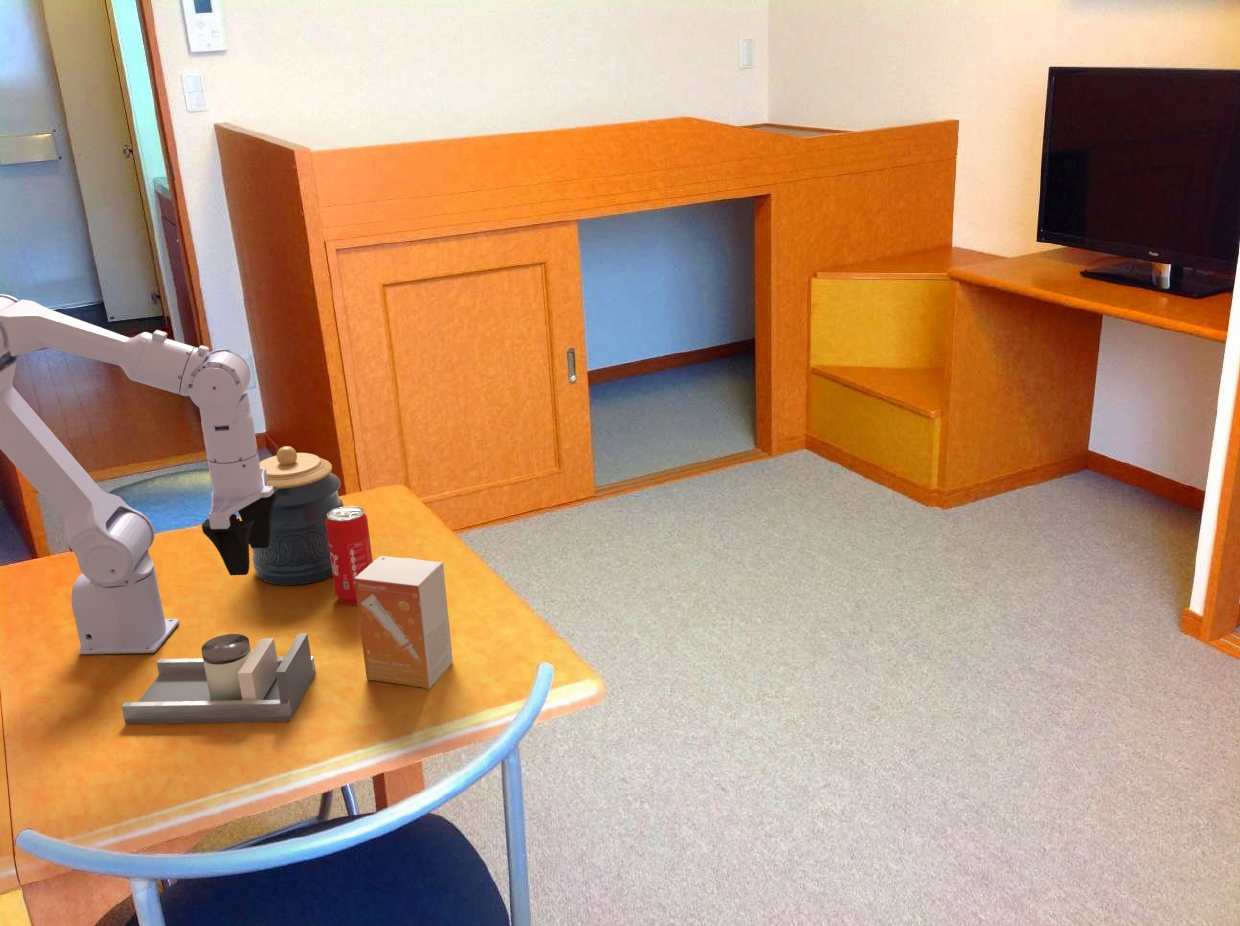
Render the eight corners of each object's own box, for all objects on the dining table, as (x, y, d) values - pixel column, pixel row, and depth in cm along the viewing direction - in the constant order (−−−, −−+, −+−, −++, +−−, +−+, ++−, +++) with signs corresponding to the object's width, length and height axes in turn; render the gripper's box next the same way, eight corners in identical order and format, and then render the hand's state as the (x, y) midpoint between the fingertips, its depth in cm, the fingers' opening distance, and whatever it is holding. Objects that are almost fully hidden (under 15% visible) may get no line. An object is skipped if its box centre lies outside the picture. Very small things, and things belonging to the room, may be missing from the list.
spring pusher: (243, 708, 126) (237, 673, 124) (266, 672, 133) (260, 638, 131) (257, 708, 126) (251, 672, 124) (279, 672, 133) (273, 638, 131)
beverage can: (367, 608, 149) (356, 522, 145) (329, 605, 150) (317, 520, 146) (382, 590, 154) (372, 506, 149) (346, 587, 155) (335, 504, 150)
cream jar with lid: (204, 705, 127) (195, 657, 125) (217, 682, 132) (209, 635, 130) (250, 703, 127) (242, 655, 125) (261, 679, 132) (254, 632, 130)
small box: (365, 681, 132) (351, 577, 127) (392, 654, 137) (380, 553, 133) (430, 690, 129) (418, 585, 125) (454, 662, 135) (444, 560, 131)
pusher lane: (125, 723, 125) (115, 678, 123) (162, 675, 135) (154, 632, 133) (289, 721, 125) (282, 675, 123) (315, 673, 134) (309, 629, 132)
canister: (234, 575, 160) (213, 454, 154) (304, 540, 170) (287, 426, 164) (301, 595, 153) (283, 469, 147) (370, 557, 163) (355, 439, 157)
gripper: (245, 476, 130) (263, 586, 134) (284, 434, 143) (299, 535, 148) (183, 478, 130) (203, 587, 135) (228, 435, 144) (245, 536, 148)
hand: (250, 560), depth 141 cm, fingers open, 7 cm apart
